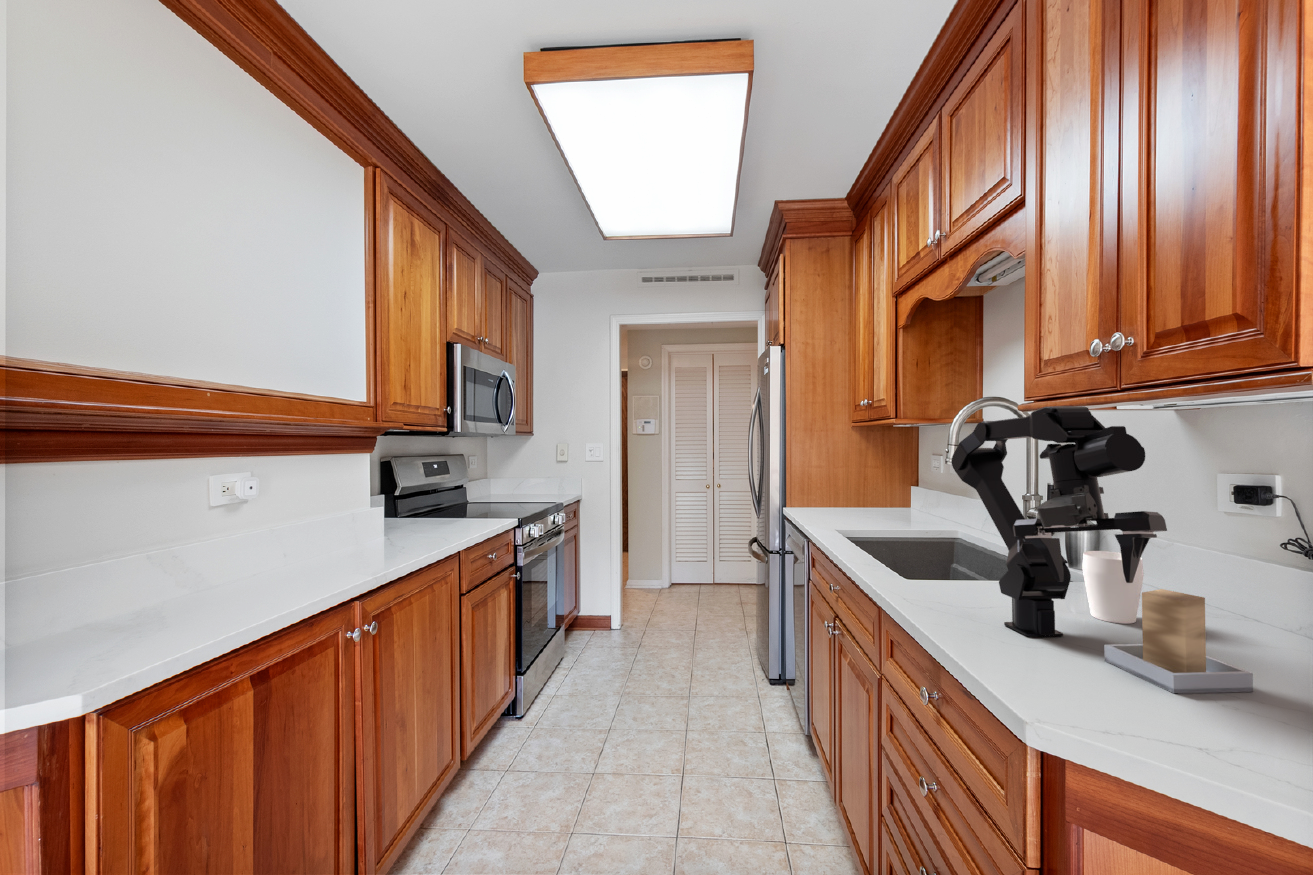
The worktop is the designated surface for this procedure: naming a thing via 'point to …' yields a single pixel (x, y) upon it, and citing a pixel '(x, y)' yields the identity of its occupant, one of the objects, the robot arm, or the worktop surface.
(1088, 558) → the cup
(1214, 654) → the worktop surface
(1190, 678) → the dish
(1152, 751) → the worktop surface
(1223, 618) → the worktop surface
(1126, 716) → the worktop surface
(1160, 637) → the oak block
